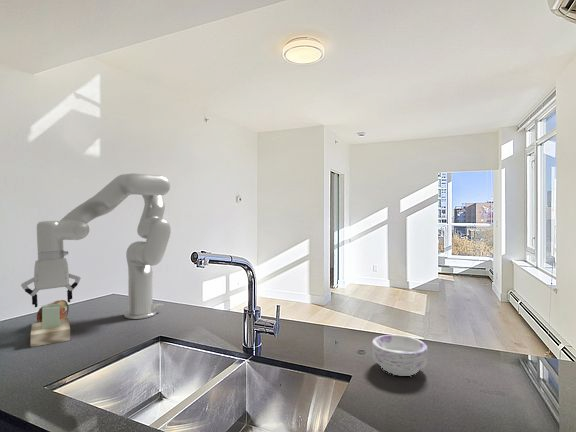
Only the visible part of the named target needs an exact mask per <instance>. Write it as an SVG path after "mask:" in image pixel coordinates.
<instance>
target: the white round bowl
mask: <svg viewBox="0 0 576 432" xmlns="http://www.w3.org/2000/svg"><path fill="white" fill-rule="evenodd" d="M371 351H372V352H371V358H372V360H373V361H374V362H375V363H377V364H378V365H379V366H381V367H380V368H381V369H382V368H383V369H384V370H386V371H388V372H391V373H394V374H401V375H410V374H415V373H417V372H418V373H419V371H420V370H422V369H424V368H426V367H427V365H428V352H429V351H428V345H427V344H426V343H425V342H423V341H422V340H421V339H418V338H416V337H411V336H408V335H407V336H406V335H401V334H384V335H380V336H379V335H378V336H376V337H374V338H373V339H372V342H371ZM383 369H382V370H383ZM384 370H383V371H384ZM418 373H417V374H418ZM415 375H416V374H415Z"/></svg>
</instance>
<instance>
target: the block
mask: <svg viewBox="0 0 576 432" xmlns="http://www.w3.org/2000/svg"><path fill="white" fill-rule="evenodd" d="M41 307H42V329H48V328H54V327H60V306H59V304H52V305H47V304H45V305H42V306H41Z"/></svg>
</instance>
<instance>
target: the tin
mask: <svg viewBox="0 0 576 432" xmlns="http://www.w3.org/2000/svg"><path fill="white" fill-rule="evenodd" d="M68 303H69V302H68V301H66V300H64V299H61V300H56V301H53V302H50V303H48V304H46V305H52V304H59V306H60V319H65V318H67V317H68V314H69V304H68ZM38 322H42V306H41V307H40V308H39V309H38V311H37V314H36V323H38Z"/></svg>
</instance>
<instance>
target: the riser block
mask: <svg viewBox="0 0 576 432" xmlns="http://www.w3.org/2000/svg"><path fill="white" fill-rule="evenodd" d="M68 341H71V326H70V321H69V318H67V317H66V318H65V319H60V327H54V328H48V329H42V322H38V323H37V322H33V323H31V327H30V348H34V347H40V346H45V345H51V344H58V343H61V342H68Z"/></svg>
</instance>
